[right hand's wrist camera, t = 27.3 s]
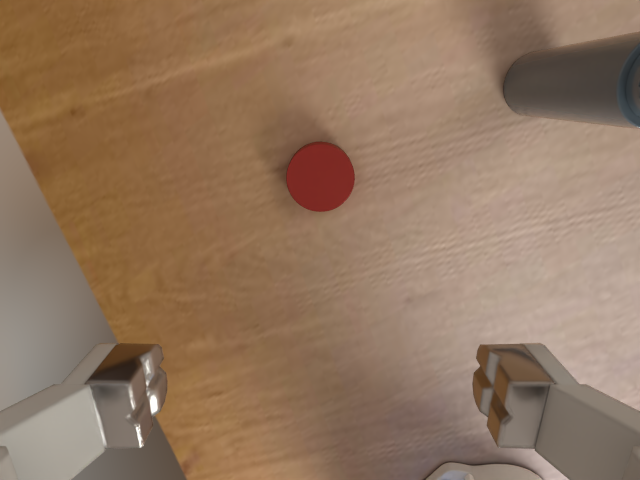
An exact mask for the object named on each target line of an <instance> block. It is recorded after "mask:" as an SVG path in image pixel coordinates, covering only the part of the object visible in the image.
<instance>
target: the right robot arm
mask: <svg viewBox="0 0 640 480" xmlns="http://www.w3.org/2000/svg"><path fill="white" fill-rule="evenodd" d="M163 359H164V357H163V352H162V347H161V346H160V345H159V344H130V343H120V344H119V343H100V344H97V345H95V346H94V347H93V349H92V350H91V351H90V352H89V353H88V354H87V355H86V356H85V357H84V359H83V360H82V361H81V362H80V363H79V364H78V365H77V367H76V368H75V369H74V370H73V371H72V372H71V373H70V374H69V375H68V376H67V378H66V379H65V380H64V381H63V382H62V383H61V384H58V385H52V386H50V387H48V388H46V389H44V390H42V391H40V392H38V393H36V394H34V395H32V396H30V397H28V398H26V399H24V400H22V401H20V402H18V403H16V404H14V405H12V406H10V407H8V408H6V409H4V410H2V411H0V480H71V479H72V478H73V477H74V476H76V475H77V474H78V473H79V472H80V471H81V470H83V469H84V468H85V467H86V466H87V465H89V464H90V463H91V462H92V461H93V460H95V459H96V458H97V457H98V456H99V455H101V454H102V453H103V452H104V451H105V449H111V448H142V446H143V445H144V443H145V441H146V439H147V437H148V435H149V433H150V431H151V429H152V427H153V421H152V417H153V416H154V415H156V414H157V413H159V412H160V411H161V409H162V407H163V404H164V402H165V398H166V394H167V375H166V372H165V371H164V370H163V369H162V368H161V367H160V364H161V362H162V361H163ZM476 359H477V361H478V362H479V364H480V367H479V368H478V369H477V370H476V371H475V372H474V376H473V395H474V398H475V402H476V405H477V407H478V409H479V411H480V412H481V413H483V414H484V415H486V416H487V417H488V421H487V427H488V429H489V431H490V433H491V435H492V437H493V439H494V441H495V443H496V444H497V446H498V448H529V449H535V451H536V452H537V453H538V454H540V455H541V456H542V457H543V458H544V459H546V460H547V461H548V462H549V463H550V464H551V465H553V466H554V467H555V468H556V469H557V470H559V471H560V472H561V473H562V474H563V475H565V476H566V477H567V478H568V479H569V480H640V411H638V410H636V409H634V408H632V407H630V406H628V405H626V404H624V403H622V402H620V401H618V400H616V399H614V398H612V397H610V396H608V395H606V394H604V393H602V392H600V391H598V390H596V389H594V388H592V387H590V386H588V385H583V384H579V383H578V382H577V381H576V380H575V379H574V378H573V376H572V375H571V374H570V373H569V372H568V371H567V370H566V369H565V368H564V366H563V365H562V364H561V363H560V362H559V361H558V360H557V359H556V357H555V356H554V355H553V354H552V353H551V352H550V351H549V350H548V349H547V347H546V346H545V345H543V344H541V343H523V344H488V345H480V346H479V348H478V351H477V356H476ZM426 480H543V479H542V478H540V477H539V476H538V475H537V474H535V473H534V472H532V471H530V470H528V469H525V468H522V467H519V466H515V465H509V464H487V465H477V466H471V465H466V464H461V463H454V462H449V463H445V464H443V465H441V466H440V467H439V468H438V469H437V470H436V471H434V472H433V473H432V474H431V475H430V476H429V477H428V478H427V479H426Z"/></svg>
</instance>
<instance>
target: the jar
mask: <svg viewBox="0 0 640 480" xmlns="http://www.w3.org/2000/svg"><path fill="white" fill-rule="evenodd" d="M504 97H505V100H506V102H507V104H508V106H509V107H510V108H511V109H512V110H513V111H514V112H516V113H517V114H520V115H523V116H530V117H538V118H547V119H556V120H565V121H573V122H582V123H591V124H599V125H608V126H617V127H626V128H634V129H640V31H639V32H634V33H629V34H624V35H618V36H613V37H608V38H603V39H597V40H592V41H587V42H582V43H576V44H571V45H566V46H561V47H556V48H550V49H545V50H540V51H535V52H531V53H528V54H526V55H524V56H522V57H521V58H519V59H518V60H517V61H516V62H515V63H514V64H513V65H512V67H511V68H510V69H509V71H508V73H507V75H506V78H505V81H504Z"/></svg>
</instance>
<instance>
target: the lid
mask: <svg viewBox="0 0 640 480" xmlns="http://www.w3.org/2000/svg"><path fill="white" fill-rule="evenodd" d="M286 180H287V186H288V189H289V192H290V194H291V196H292V197H293V198H294V200H295V201H296V202H297V203H298V204H300V205H301V206H303V207H304V208H306V209H309V210H312V211H318V212H322V211H329V210H332V209H335V208H337V207H338V206H340V205H341V204H343V203H344V202H345V201H346V200H347V198H348V197H349V196H350V194H351V192H352V189H353V186H354V180H355V178H354V170H353V166H352V164H351V162H350V159H349V158H348V156H347V155H346V153H345V152H344V151H343V150H342V149H340V148H339V147H337V146H336V145H334V144H331V143H327V142H314V143H310V144H307V145H305V146H304V147H302V148H301V149H299V150H298V151H297V152H296V153H295V155H294V156H293V158H292V159H291V162H290V164H289V166H288V169H287V176H286Z"/></svg>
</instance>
